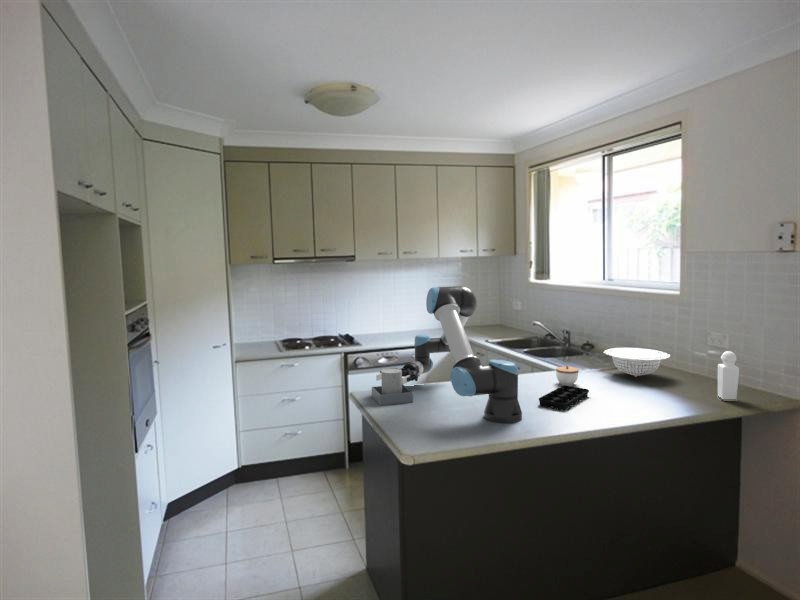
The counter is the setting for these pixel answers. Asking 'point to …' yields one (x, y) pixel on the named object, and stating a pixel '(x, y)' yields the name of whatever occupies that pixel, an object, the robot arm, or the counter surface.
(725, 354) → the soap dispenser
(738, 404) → the counter surface
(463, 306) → the robot arm
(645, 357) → the colander
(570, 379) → the lidded jar
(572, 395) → the egg carton
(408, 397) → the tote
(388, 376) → the gray cylinder
